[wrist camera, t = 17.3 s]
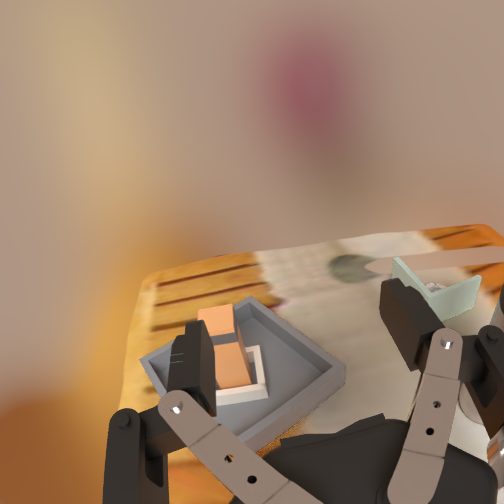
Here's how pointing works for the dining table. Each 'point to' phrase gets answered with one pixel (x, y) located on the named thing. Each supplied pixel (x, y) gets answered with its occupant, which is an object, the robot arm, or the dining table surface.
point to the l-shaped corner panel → (440, 291)
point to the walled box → (265, 377)
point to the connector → (227, 347)
